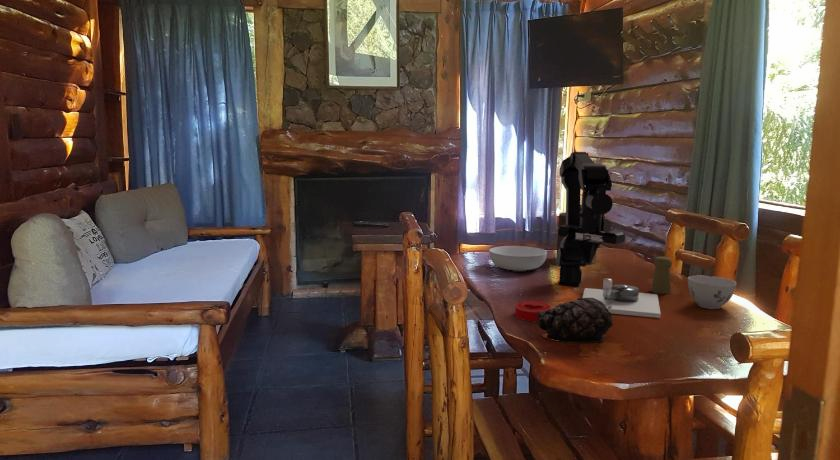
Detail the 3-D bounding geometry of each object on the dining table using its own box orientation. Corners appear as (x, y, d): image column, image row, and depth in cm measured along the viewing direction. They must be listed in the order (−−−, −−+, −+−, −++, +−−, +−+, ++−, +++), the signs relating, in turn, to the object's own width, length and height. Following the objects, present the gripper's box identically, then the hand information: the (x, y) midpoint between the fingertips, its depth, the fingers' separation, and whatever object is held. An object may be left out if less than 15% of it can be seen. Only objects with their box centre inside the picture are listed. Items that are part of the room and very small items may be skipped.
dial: (618, 292, 182) (620, 270, 181) (643, 298, 176) (645, 275, 175) (591, 301, 173) (593, 277, 172) (616, 307, 167) (618, 282, 166)
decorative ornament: (519, 322, 158) (519, 311, 158) (511, 311, 168) (512, 300, 167) (555, 322, 159) (556, 310, 158) (546, 311, 168) (546, 300, 168)
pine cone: (531, 332, 150) (532, 293, 148) (600, 330, 152) (602, 292, 150) (544, 347, 140) (546, 305, 138) (618, 345, 142) (620, 303, 140)
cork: (672, 294, 186) (675, 259, 185) (652, 293, 188) (654, 258, 186) (669, 289, 192) (671, 255, 190) (649, 288, 193) (651, 254, 192)
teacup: (743, 312, 168) (745, 284, 166) (699, 313, 167) (701, 285, 166) (714, 298, 183) (717, 272, 181) (674, 298, 182) (676, 272, 181)
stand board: (579, 310, 169) (580, 304, 169) (584, 291, 189) (585, 287, 188) (660, 318, 162) (660, 312, 162) (656, 298, 182) (657, 293, 182)
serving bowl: (554, 267, 223) (555, 249, 222) (533, 278, 206) (533, 258, 205) (503, 260, 234) (503, 243, 233) (478, 270, 217) (479, 251, 216)
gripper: (636, 210, 170) (632, 264, 173) (578, 204, 184) (575, 254, 186) (616, 214, 163) (613, 270, 165) (557, 207, 176) (555, 259, 179)
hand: (588, 263), depth 174 cm, fingers closed
